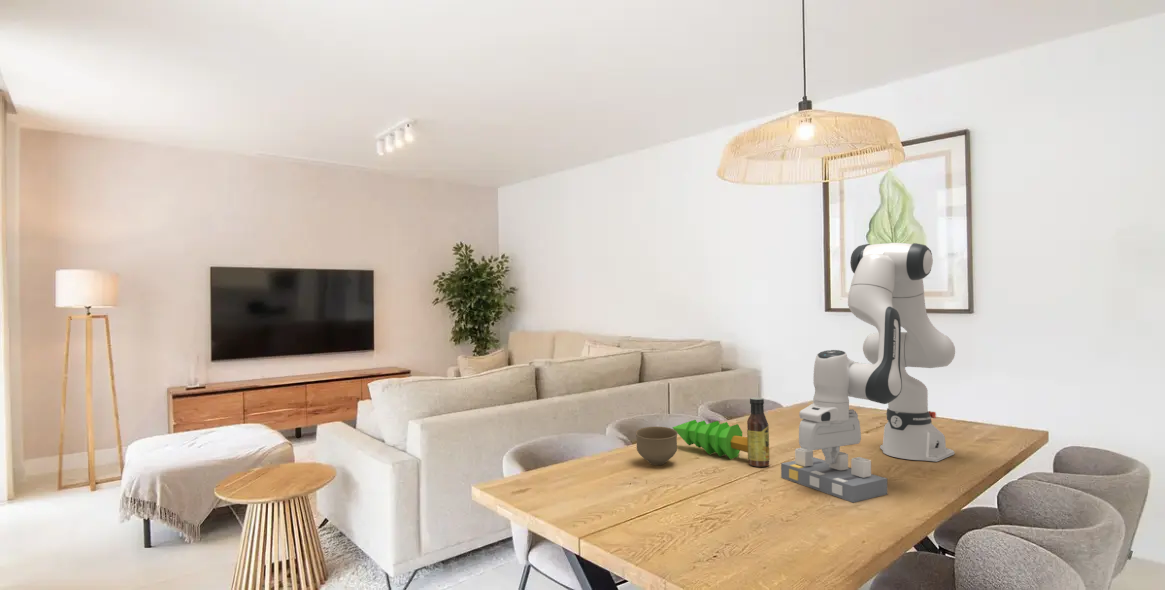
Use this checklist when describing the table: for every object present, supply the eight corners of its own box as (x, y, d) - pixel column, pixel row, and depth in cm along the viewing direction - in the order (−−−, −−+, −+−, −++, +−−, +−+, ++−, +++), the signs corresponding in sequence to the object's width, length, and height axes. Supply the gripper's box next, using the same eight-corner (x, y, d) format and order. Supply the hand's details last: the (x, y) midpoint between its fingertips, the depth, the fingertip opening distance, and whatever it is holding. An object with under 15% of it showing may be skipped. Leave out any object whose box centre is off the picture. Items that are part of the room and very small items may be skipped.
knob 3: (859, 472, 155) (859, 456, 155) (871, 476, 152) (870, 459, 152) (851, 474, 154) (851, 458, 154) (863, 477, 151) (863, 461, 151)
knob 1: (802, 462, 165) (802, 447, 165) (813, 465, 162) (812, 449, 162) (795, 463, 164) (795, 448, 164) (805, 466, 161) (805, 451, 161)
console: (813, 471, 171) (813, 456, 171) (887, 494, 151) (887, 477, 151) (780, 477, 165) (780, 462, 165) (852, 502, 145) (852, 485, 145)
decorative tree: (749, 423, 178) (667, 407, 199) (741, 461, 175) (659, 440, 196) (765, 432, 186) (684, 415, 207) (757, 468, 183) (676, 448, 204)
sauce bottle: (771, 468, 174) (769, 400, 174) (749, 467, 175) (747, 400, 175) (768, 462, 180) (766, 396, 181) (746, 461, 181) (745, 396, 182)
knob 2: (837, 465, 161) (836, 450, 161) (848, 469, 158) (848, 453, 158) (829, 467, 160) (829, 451, 160) (840, 470, 157) (840, 454, 157)
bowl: (630, 467, 176) (630, 433, 176) (642, 456, 187) (642, 425, 188) (672, 471, 171) (672, 437, 171) (681, 460, 183) (681, 428, 183)
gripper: (847, 406, 166) (846, 456, 165) (794, 412, 156) (794, 464, 156) (867, 410, 160) (866, 461, 160) (814, 416, 151) (813, 470, 150)
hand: (830, 463), depth 158 cm, fingers closed
